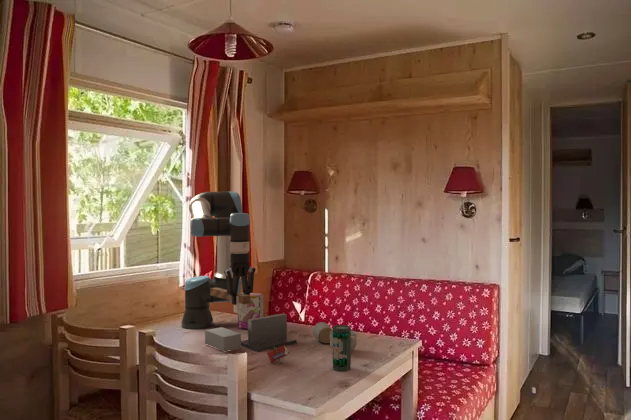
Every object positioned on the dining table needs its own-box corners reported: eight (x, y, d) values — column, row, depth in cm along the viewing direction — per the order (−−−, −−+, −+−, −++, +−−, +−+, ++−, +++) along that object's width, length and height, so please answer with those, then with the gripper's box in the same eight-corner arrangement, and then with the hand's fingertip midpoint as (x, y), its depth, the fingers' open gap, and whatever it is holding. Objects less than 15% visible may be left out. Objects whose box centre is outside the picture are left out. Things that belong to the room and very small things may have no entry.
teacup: (325, 349, 216) (325, 329, 216) (350, 346, 220) (350, 327, 220) (339, 358, 203) (339, 338, 203) (365, 355, 207) (365, 335, 207)
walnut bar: (210, 295, 225) (210, 288, 225) (216, 294, 227) (216, 287, 227) (243, 304, 205) (243, 296, 205) (250, 303, 207) (250, 295, 207)
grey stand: (205, 344, 224) (205, 330, 224) (221, 341, 229) (221, 327, 229) (223, 352, 212) (223, 337, 212) (240, 348, 217) (240, 333, 217)
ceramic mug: (318, 345, 222) (318, 326, 222) (312, 340, 230) (312, 322, 230) (342, 343, 226) (342, 325, 225) (335, 338, 233) (336, 321, 233)
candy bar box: (237, 328, 251) (237, 294, 250) (241, 326, 255) (241, 292, 255) (259, 330, 248) (259, 295, 247) (263, 327, 252) (263, 293, 252)
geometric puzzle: (265, 360, 194) (278, 342, 195) (261, 355, 200) (274, 337, 201) (280, 371, 195) (293, 352, 197) (276, 365, 202) (289, 347, 203)
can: (329, 368, 191) (329, 327, 191) (341, 365, 195) (341, 324, 195) (342, 372, 187) (342, 329, 186) (353, 368, 191) (353, 327, 191)
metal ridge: (238, 345, 223) (238, 317, 222) (277, 336, 236) (277, 311, 235) (257, 352, 212) (257, 323, 212) (296, 343, 225) (296, 316, 225)
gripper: (227, 254, 201) (227, 316, 202) (262, 251, 212) (262, 310, 212) (217, 253, 207) (217, 313, 208) (251, 250, 218) (252, 307, 218)
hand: (240, 311), depth 210 cm, fingers closed on walnut bar, 3 cm apart
